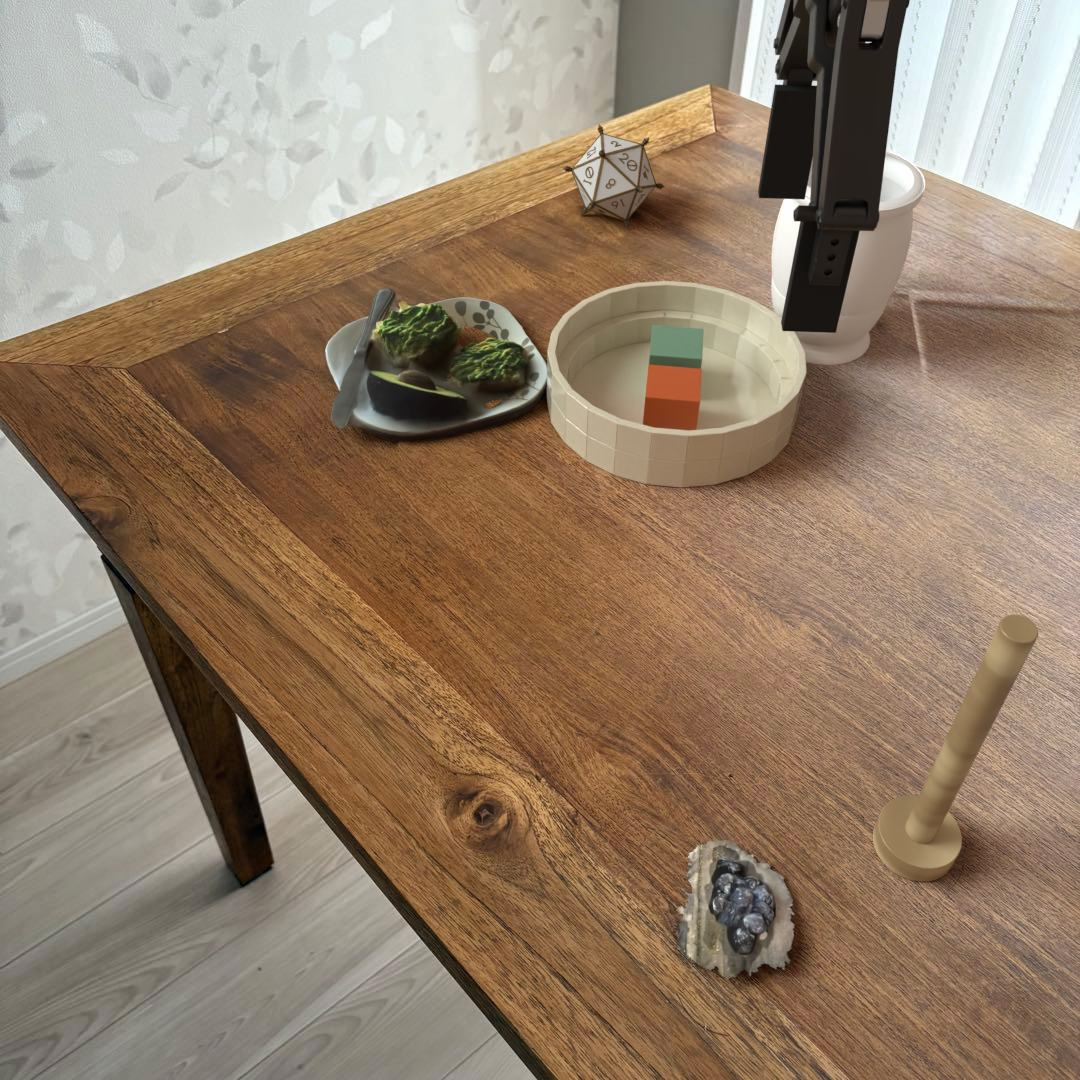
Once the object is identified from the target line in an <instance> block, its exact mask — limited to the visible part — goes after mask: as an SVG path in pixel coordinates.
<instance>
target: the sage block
mask: <svg viewBox="0 0 1080 1080" xmlns="http://www.w3.org/2000/svg"><path fill="white" fill-rule="evenodd" d="M702 352H703V329H699V328H686V327H674V326H661V325H652V334H651V344H650V354H649V365H661V366H674V367H686V368H698V369H701V364H702Z"/></svg>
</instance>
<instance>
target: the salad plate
mask: <svg viewBox="0 0 1080 1080" xmlns="http://www.w3.org/2000/svg"><path fill="white" fill-rule="evenodd" d="M398 306H399V307H398ZM464 327H469V328H473V329H476V330H478V331H481V332H483V333H486V334H488V335H490V336H491V337H487V338H486V339H485V340H484V341H481V342H480V343H475V342H470V343H467V344H466V345H465V346H462V345H460V344H459V339H460V337H461V334H462V333H463V331H464V329H465V328H464ZM324 351H325V359H326V364H327V367H328V370H329V372H330V375H331V377H332V378H333V380H334V382H335V384H336V387H337V389H338V390H339V393H336V394H335V396H334V399H333V402H332V407H331V414H330V421H331V422H332V423H333V424H335V425H336V426H337V428H339V430H341V429H343V428H346V427H350V428H351V427H352V428H355V429H358V430H359V429H360V430H363V431H365V432H368V433H370V434H372V435H375V436H376V437H378V438H381V439H383V440H386V441H389V442H394V443H398V444H399V443H400V442H422V441H432V440H437V439H445V438H451V437H456V436H458V435H463V434H468V433H471V432H476V431H480V430H484V429H489V428H494V427H497V426H501V425H503V424H506V423H509V422H511V421H513V420H516V419H517V418H519V417H521V416H523V415H524V414H526V413H528V412H530V411H531V410H532V409H533V408H534V407H535V406H536V405H537V403H539V402H540V400H541V399H542V397H543V395H545V393H546V392H547V361H546V360H545V359H544V358H543V356H542V354H541V353H540V351H539V350H538V348H537V347H536V345H534V343H533V341H532V340H531V338H530V337H529V336H528V335H527V334H526V332H525V330H524V327H523V325H521V324H520V323H519V321H518V320H517V319H516V318H515V316H514V315H513V314H512V313H511V312H510V311H509V310H508V309H507V308H506V307H505V306H502V305H500V304H499V303H496V302H493V301H490V300H486V299H481V298H477V297H476V298H475V297H465V296H463V297H462V296H461V297H453V298H448V299H443V300H439V301H435V302H431V303H427V304H426V303H423V302H420V303H419V304H416V305H409V304H408V302H407V300H406V299H401V300H399V301H398V305H397V293H396V292H395V290H393V289H392V288H390V287H385V288H380V289H378V290H377V291H376V293H375V295H374V297H373V300H372V303H371V306H370V309H369V313H368V316H365V317H362V318H359V319H357V320H353V321H352V322H349V323H347V324H345V325H344V326H343V327H341V328H340V329H339V330H338V331H337V332H335V334H334V335H332V337H331V338H330V339H329V340H328V342H327V343H326V346H325V349H324ZM449 375H451V377H450V378H449V379H448V380H447V377H448V376H449ZM498 400H500V402H499V403H497V404H495V405H493V406H492V407H491V408H487V407H486V405H487V404H489V403H490V402H493V401H498Z"/></svg>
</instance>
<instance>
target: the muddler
mask: <svg viewBox="0 0 1080 1080" xmlns="http://www.w3.org/2000/svg"><path fill="white" fill-rule="evenodd" d="M1038 637H1039V629H1038V627H1037V625H1036V624H1035V623H1034V622H1033V620H1031V619H1030V618H1027V616H1023V615H1019V614H1008V615H1005V616H1003V617H1002V618H1001V620H1000V622H999V623H998V625H997V628H996V630H995V632H994V634H993V636H992V637H991V640H990V643H989V644H988V647H987V649H986V651H985V654H984V655H983V657H982V660H981V662H980V664H979V666H978V668H977V671H976V673H975V675H974V676H973V679H972V680H971V683H970V685H969V688H968V690H967V692H966V694H965V696H964V698H963V700H962V702H961V704H960V707H959V708H958V712H957V713H956V715H955V718H954V720H953V722H952V724H951V726H950V728H949V730H948V732H947V735H946V736H945V739H944V741H943V742H942V745H941V747H940V749H939V752H938V753H937V756H936V758H935V760H934V762H933V764H932V767H931V768H930V771H929V773H928V775H927V777H926V779H925V781H924V784H923V786H922V787H921V789H920V792H919V795H911V794H910V795H902V796H901V795H900V796H897V797H895V798H893V799H890V801H888V802H887V803H886V804H885V805H884V806H883V807H882V808H881V810H880V812H879V815H878V817H877V819H876V822H875V824H874V827H873V831H872V843H873V847H874V848H873V849H874V850H875V852H876V854H877V856H878V858H879V859H880V861H881V862H882V863H883V864H884V865H885V866H886V867H887V868H888V869H889V870H890V871H891V872H893V873H894V874H896V875H898V876H900V877H901V878H904V879H907V880H910V881H913V882H914V881H915V882H922V883H923V882H932V881H935V880H937V879H940V878H942V877H944V876H946V875H947V874H948V873H949V871H950V870H951V869H952V867H953V865H954V864H955V862H956V860H957V858H958V856H959V854H960V853H961V850H962V847H963V838H962V837H963V835H962V831H961V828H960V826H959V824H958V821H957V820H956V819H955V817H954V816H953V815H952V814H951V813H950V812H949V811H950V809H951V807H952V805H953V803H954V802H955V799H956V798H957V795H958V793H959V791H960V790H961V787H962V785H963V783H964V782H965V780H966V778H967V776H968V774H969V772H970V770H971V768H972V766H973V764H974V762H975V760H976V759H977V756H978V754H979V752H980V750H981V749H982V747H983V745H984V743H985V741H986V739H987V737H988V735H989V733H990V731H991V729H992V727H993V726H994V723H995V721H996V720H997V718H998V715H999V714H1000V711H1001V710H1002V708H1003V706H1004V704H1005V702H1006V700H1007V698H1008V696H1009V695H1010V692H1011V690H1012V688H1013V687H1014V684H1015V682H1016V681H1017V679H1018V677H1019V674H1020V672H1021V670H1022V669H1023V667H1024V665H1025V663H1026V661H1027V659H1028V657H1029V655H1030V653H1031V651H1032V649H1033V647H1034V645H1035V643H1036V642H1037V640H1038Z"/></svg>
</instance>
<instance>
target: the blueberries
mask: <svg viewBox="0 0 1080 1080" xmlns="http://www.w3.org/2000/svg"><path fill="white" fill-rule="evenodd" d="M754 857H755V856H754V854H749V853H748V852H747V851H746V850H744V849H743V848H742V847H740V846H738V844H737V842H734V841H732V840H728V839H722V838H720V839H714V840H712V839H711V838H708V840H707V841H706V843H704V844H703V843H700V844H696V845H695V848H694V849H693V851H690V852H688V856H687V857H686V859H687V858H688V859H689V860H690V862H691V863H690V862H688V863H687V865H688V866H690V867H689V869H688V871H687V874H685V877H686V879H687V881H688V883H689V885H690V886H691V889H692V890H691V892H690V893H689V892H688V891H686V890H685V889H684V888H683V887H681V888H680V889H681V890H682V891H683V892H684V895H685V896H687V898H684V900H685V901H687V902H685V905H684V906H685V907H684V906H683V905H680V906H678V907H677V909H676V911H677V912H678V914H679V915H682V917H681V919H680V920H679V921H680V923H679V924H678V927H679V928H677V929H678V930H676V932H675V936H676V937H677V941H676V943H675V945H676V946H677V947H680V952H681V951H682V952H683V955H684V956H685V958H688V959H690V960H691V961H693V962H694V963H696V965H697V966H699V967H701V969H703V968H705V969H706V970H709V971H712V970H713V969H715V967H717V969H718V970H717V972H718V974H719V975H720V976H721V977H723V978H725V980H729V979H731V978H733V979H734V978H736V977H738V976H739V975H738V974H741V972H743V971H745V972H746V973H748V976H750V977H751V976H752V973H757V972H759V969H758V968H759V967H762V965H764V964H765V965H769V967H771V968H773V969H775V970H777V968H781V969H782V970H785V967H786V963H787V964H790V962H791V959H790V958H789V956H788V952H789V951H790V950H792V944H793V940H794V936H795V934H794V929H795V924H794V923H793V922H792V921H791V920H792V916H795V913H794V912H793V909H792V908H791V907H792V906H793V901H794V899H793V898H792V894H791V892H790V891H789V888H788V886H787V883H786V882H785V876H783V875H782V874H781V873H780V872H777V871H775V870H773V869H771V864H770V863H769V862H766V863H765V862H763V861H762V860H761V861H760V862H757V859H756V858H754ZM791 915H792V916H791ZM785 962H786V963H785Z"/></svg>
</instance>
